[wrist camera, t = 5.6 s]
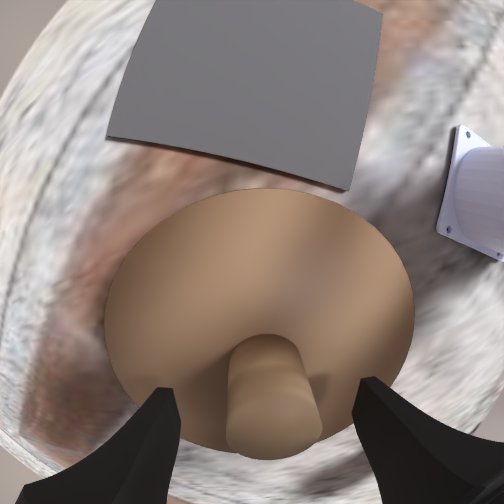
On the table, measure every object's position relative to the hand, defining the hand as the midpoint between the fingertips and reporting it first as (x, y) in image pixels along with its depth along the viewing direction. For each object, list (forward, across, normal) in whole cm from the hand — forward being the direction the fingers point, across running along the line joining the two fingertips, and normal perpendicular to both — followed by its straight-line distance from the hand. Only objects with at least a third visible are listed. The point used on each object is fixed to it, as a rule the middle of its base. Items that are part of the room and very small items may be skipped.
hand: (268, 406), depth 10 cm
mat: (+8, 0, -16) cm, 17 cm away
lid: (+3, 0, -1) cm, 3 cm away
